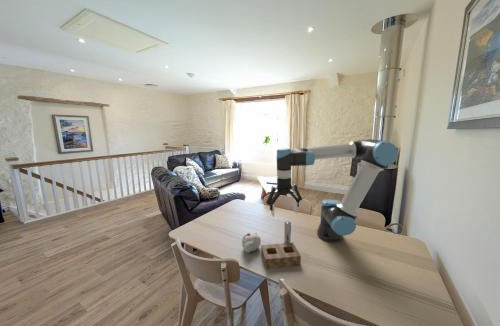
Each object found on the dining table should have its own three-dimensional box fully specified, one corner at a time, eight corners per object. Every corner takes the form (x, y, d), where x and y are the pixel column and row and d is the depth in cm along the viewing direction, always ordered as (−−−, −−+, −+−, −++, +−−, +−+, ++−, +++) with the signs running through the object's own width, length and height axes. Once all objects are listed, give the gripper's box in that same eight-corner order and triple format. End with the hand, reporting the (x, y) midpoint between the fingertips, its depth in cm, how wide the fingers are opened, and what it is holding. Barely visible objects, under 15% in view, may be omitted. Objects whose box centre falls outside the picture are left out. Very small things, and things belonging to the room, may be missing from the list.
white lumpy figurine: (246, 257, 108) (238, 245, 122) (265, 252, 112) (255, 241, 126) (245, 241, 107) (237, 230, 121) (264, 236, 111) (254, 227, 125)
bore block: (292, 250, 114) (293, 242, 113) (300, 264, 102) (300, 256, 101) (261, 253, 112) (261, 245, 111) (265, 268, 100) (265, 259, 99)
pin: (289, 244, 120) (289, 221, 117) (291, 248, 116) (291, 224, 113) (283, 245, 119) (283, 221, 116) (285, 248, 116) (285, 224, 113)
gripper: (301, 173, 115) (301, 208, 119) (259, 177, 109) (261, 214, 113) (308, 176, 108) (308, 213, 112) (263, 181, 102) (265, 220, 106)
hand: (284, 214), depth 113 cm, fingers open, 13 cm apart
